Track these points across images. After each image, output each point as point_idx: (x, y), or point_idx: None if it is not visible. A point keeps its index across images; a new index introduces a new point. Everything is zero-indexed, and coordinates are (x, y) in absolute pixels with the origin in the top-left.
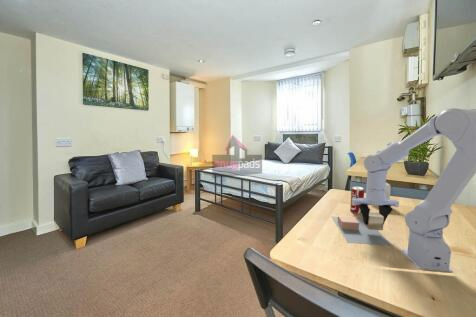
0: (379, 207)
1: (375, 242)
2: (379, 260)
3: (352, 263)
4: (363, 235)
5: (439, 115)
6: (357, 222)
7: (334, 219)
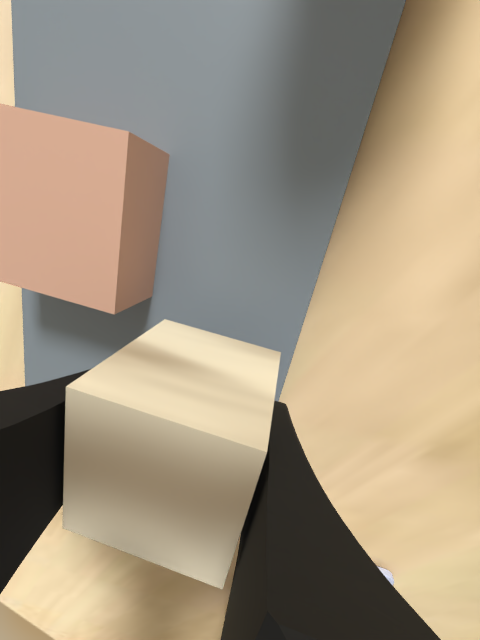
0: (253, 594)
1: None
2: None
3: None
4: None
5: None
6: (103, 304)
7: (24, 35)
